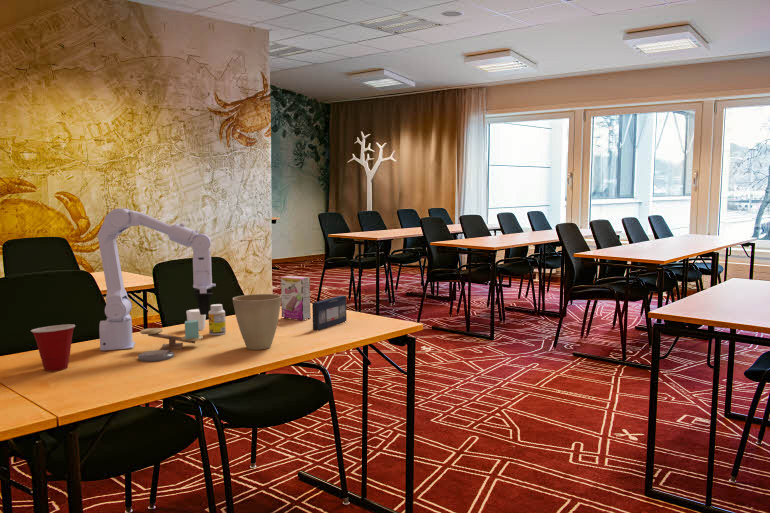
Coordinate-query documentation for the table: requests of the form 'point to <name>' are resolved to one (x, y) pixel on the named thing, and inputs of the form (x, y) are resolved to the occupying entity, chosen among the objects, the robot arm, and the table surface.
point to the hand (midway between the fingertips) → (203, 312)
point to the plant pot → (257, 318)
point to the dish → (156, 355)
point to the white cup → (196, 317)
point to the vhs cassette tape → (329, 312)
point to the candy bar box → (295, 297)
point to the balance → (172, 339)
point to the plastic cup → (54, 345)
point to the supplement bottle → (217, 320)
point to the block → (191, 329)
